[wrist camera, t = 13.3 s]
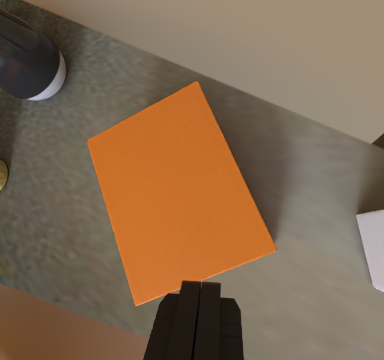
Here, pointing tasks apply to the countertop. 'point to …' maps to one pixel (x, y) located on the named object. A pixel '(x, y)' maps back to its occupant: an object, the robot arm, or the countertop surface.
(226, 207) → the lid
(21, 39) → the dark rounded cone
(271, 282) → the countertop surface
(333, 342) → the countertop surface
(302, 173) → the countertop surface
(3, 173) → the vase
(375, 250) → the milk carton
